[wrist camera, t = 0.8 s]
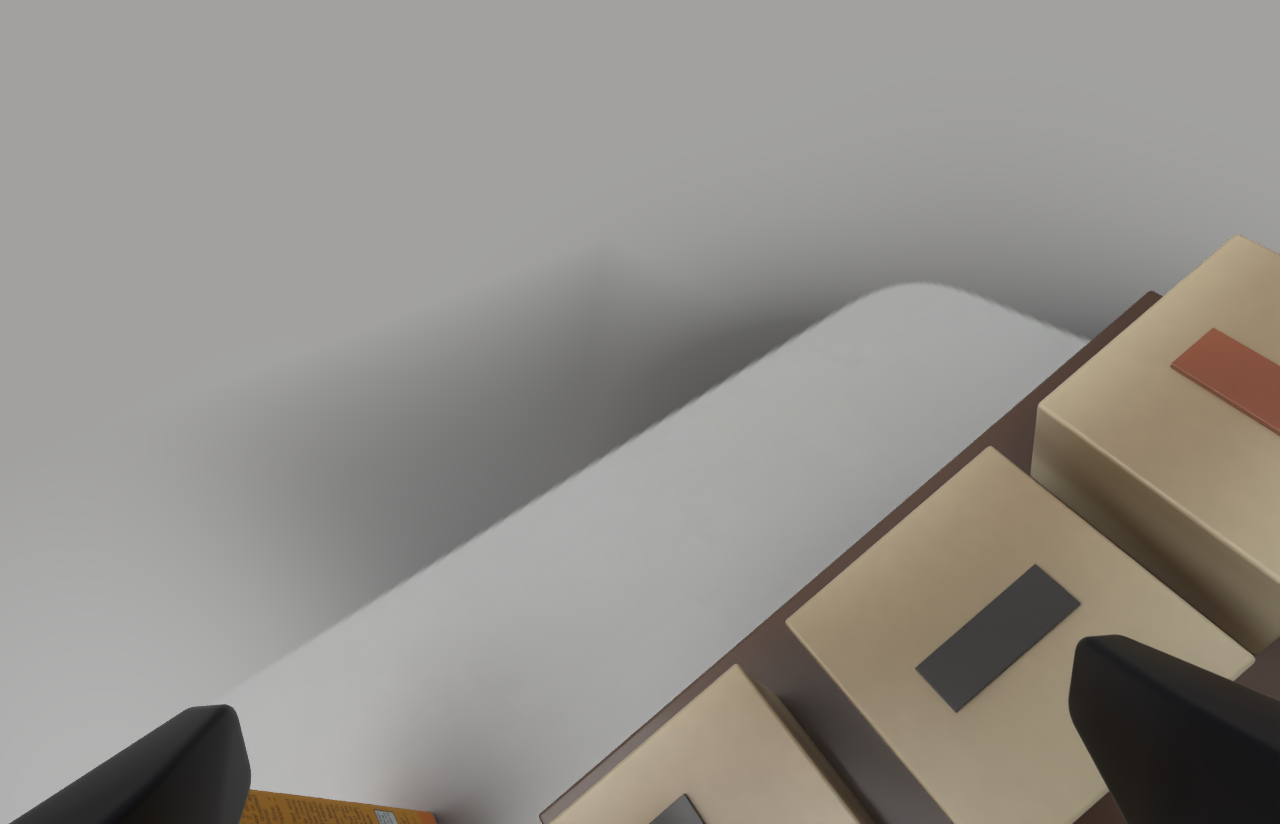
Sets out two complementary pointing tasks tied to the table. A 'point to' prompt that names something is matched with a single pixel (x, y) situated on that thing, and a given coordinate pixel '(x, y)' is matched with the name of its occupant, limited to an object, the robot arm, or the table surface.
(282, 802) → the supplement box
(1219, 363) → the beige block with stripe
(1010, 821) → the brown wooden box
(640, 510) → the table surface
